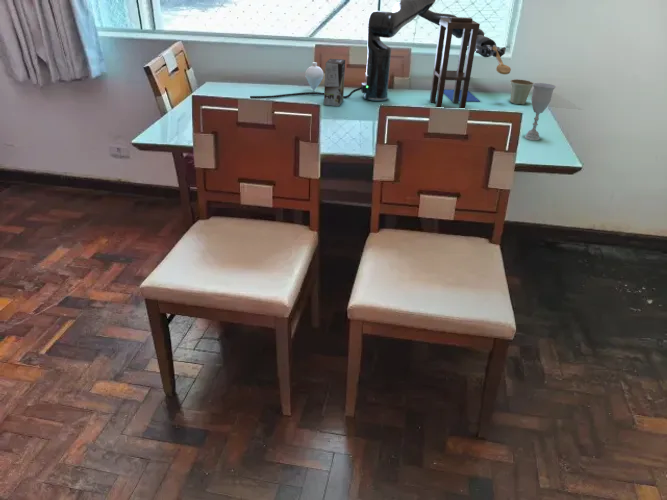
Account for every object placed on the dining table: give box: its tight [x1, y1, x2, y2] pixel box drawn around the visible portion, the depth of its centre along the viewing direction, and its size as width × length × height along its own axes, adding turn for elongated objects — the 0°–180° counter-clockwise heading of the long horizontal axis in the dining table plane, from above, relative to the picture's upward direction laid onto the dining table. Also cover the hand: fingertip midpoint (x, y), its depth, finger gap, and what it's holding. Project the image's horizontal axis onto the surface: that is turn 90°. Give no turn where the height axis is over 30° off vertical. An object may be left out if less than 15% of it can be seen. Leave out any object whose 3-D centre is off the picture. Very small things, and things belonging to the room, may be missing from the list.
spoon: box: [492, 46, 512, 75], centre depth 228 cm, size 18×6×5 cm
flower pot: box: [509, 78, 535, 105], centre depth 232 cm, size 9×9×9 cm
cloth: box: [443, 89, 480, 103], centre depth 240 cm, size 12×18×1 cm, turn 5°
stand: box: [429, 16, 481, 109], centre depth 217 cm, size 12×12×33 cm
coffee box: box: [323, 58, 346, 107], centre depth 217 cm, size 9×6×16 cm
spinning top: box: [304, 61, 325, 92], centre depth 231 cm, size 8×8×12 cm
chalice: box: [524, 82, 556, 141], centre depth 189 cm, size 7×7×18 cm
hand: (498, 54), depth 229 cm, fingers closed on spoon, 1 cm apart
